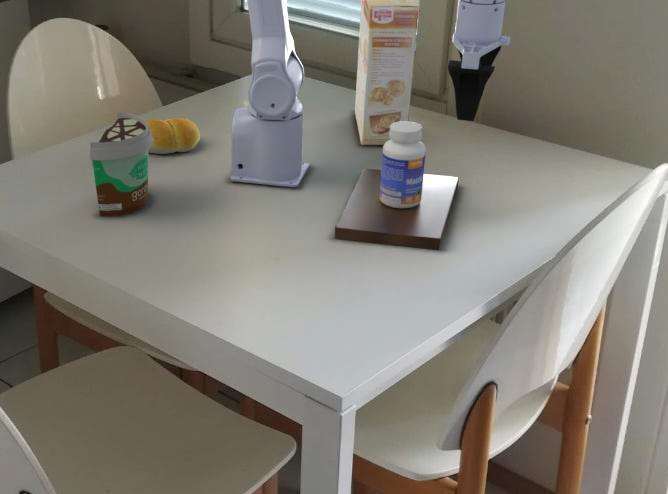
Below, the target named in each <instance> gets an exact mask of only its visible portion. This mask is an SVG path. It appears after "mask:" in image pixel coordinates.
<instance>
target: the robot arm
mask: <svg viewBox="0 0 668 494" xmlns="http://www.w3.org/2000/svg"><path fill="white" fill-rule="evenodd" d="M506 1H507V0H457V12H456V19H455V22H456V23H455V31H454V33H453V35H452V43H453V44H454V46H455V47H456V48H457V51H458V54H459V58H460V60H454V59H453V60H449V61H448V64H447V70H448V73H449V76H450V79H451V81H452V84H453V90H454V100H455V112H456V119H457V120H458V121H467V122H473V121H475V118H476V116H477V113H478V109H479V107H480V103H481V99H482V97H483V94H484V91H485V88H486V86H487V83H488V81H489V80H490V78H491V76H492V75H493V73H494V71H495V68H496V66H495V65H493V63H494V61H495V59H496V58H497V56H498V54H499V52H501V49H502V47H508V46H510V43H511V36H509V35H502V32H503V24H504V16H505V10H506V9H505V8H506ZM246 3H247V8H248V16H249V17H248V18H249V23H250V31H251V38H252V39H251V40H252V46H251V60H250V65H251V79H250V82H249V84H248V88H247V98H248V102H249V104H250V105H249V107H238V108H236V109H235V112H234V115H233V118H232V122H231V134H230V138H231V139H230V141H231V142H230V143H231V145H230V146H231V176H230V181H231V182H236V183H237V182H238V183H247V184H248V183H249V184H256V185H257V184H258V185H266V186H274V187H275V186H276V187H284V188H285V187H286V188H298V187H299V185H300V184H301V182H302V180H303V179H304V178H305V175H306V174H307V172H308V170H309V169H310V163H308V162H303V134H304V133H303V132H304V129H303V128H304V106H303V104H302V103H301V101H300V100H299V96H298V93H299V91H300V90H301V87H302V86H303V84H304V80H305V69H304V65H303V64H302V61H301V60H300V58H299V57H298V55H297V54H296V50H295V49H296V48H295V42H294V39H293V36H292V34H291V31H290V24H289V14H288V5H287V0H247V2H246Z"/></svg>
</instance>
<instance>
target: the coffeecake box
mask: <svg viewBox="0 0 668 494" xmlns="http://www.w3.org/2000/svg"><path fill="white" fill-rule="evenodd" d="M360 2H361V3H360V17H359V18H360V19H359V35H358V50H357V69H356V70H357V71H356V87H355V105H354V115H355V121H356V125H357V131H358V135H359V140H360V141H359V142H360V145H361V146H384V144H385V143H386V142H387V141H389V140H391V138H390V137H389V131H390V125H391V124H392V123H395V122H399V121H410V113H411V112H410V111H411V102H412V101H411V100H412V88H413V79H414V66H415V56H416V55H415V54H416V43H417V41H416V40H417V31H418V21H419V11H420V4H419V2H418V0H361V1H360Z"/></svg>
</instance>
